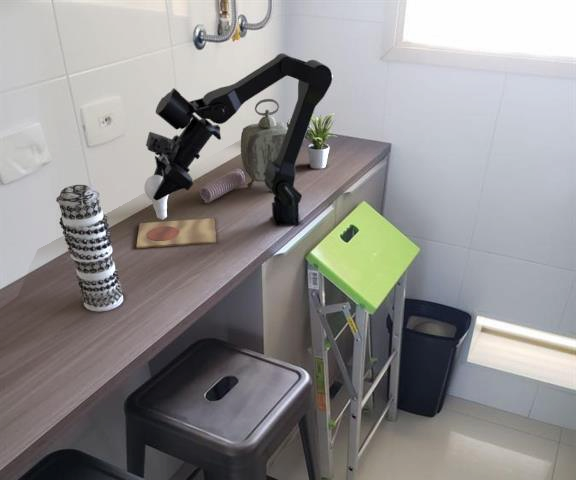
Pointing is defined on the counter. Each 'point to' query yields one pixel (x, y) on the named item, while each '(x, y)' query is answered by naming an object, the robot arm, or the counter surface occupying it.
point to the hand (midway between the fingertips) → (152, 194)
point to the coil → (222, 185)
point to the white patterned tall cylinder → (90, 247)
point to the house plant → (318, 142)
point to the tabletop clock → (261, 143)
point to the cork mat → (176, 233)
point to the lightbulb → (150, 190)
